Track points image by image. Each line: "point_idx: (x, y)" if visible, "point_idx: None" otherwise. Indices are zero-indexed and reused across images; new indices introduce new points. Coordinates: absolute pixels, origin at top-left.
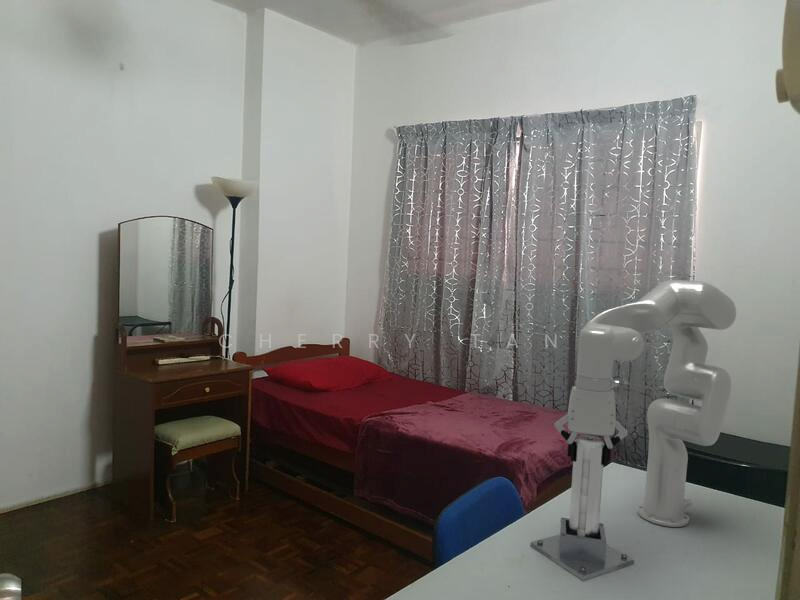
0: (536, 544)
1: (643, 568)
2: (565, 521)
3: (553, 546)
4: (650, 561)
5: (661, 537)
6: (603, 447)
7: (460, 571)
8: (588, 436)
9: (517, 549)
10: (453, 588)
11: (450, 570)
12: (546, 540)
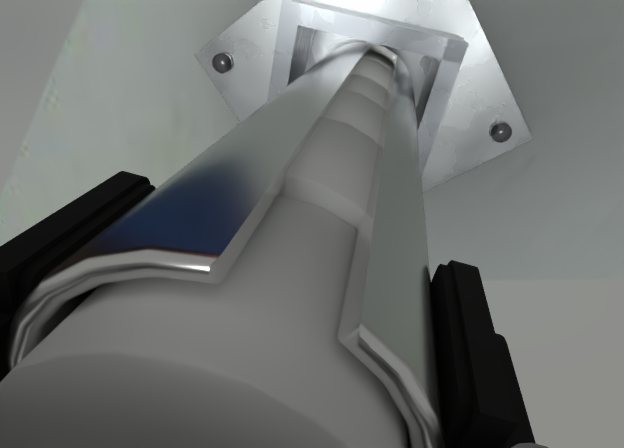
0: (212, 70)
1: (547, 160)
2: (293, 44)
3: (267, 77)
4: (608, 111)
5: None
6: None
7: (39, 209)
8: (170, 426)
9: (160, 80)
10: None
11: (18, 206)
12: (248, 32)
